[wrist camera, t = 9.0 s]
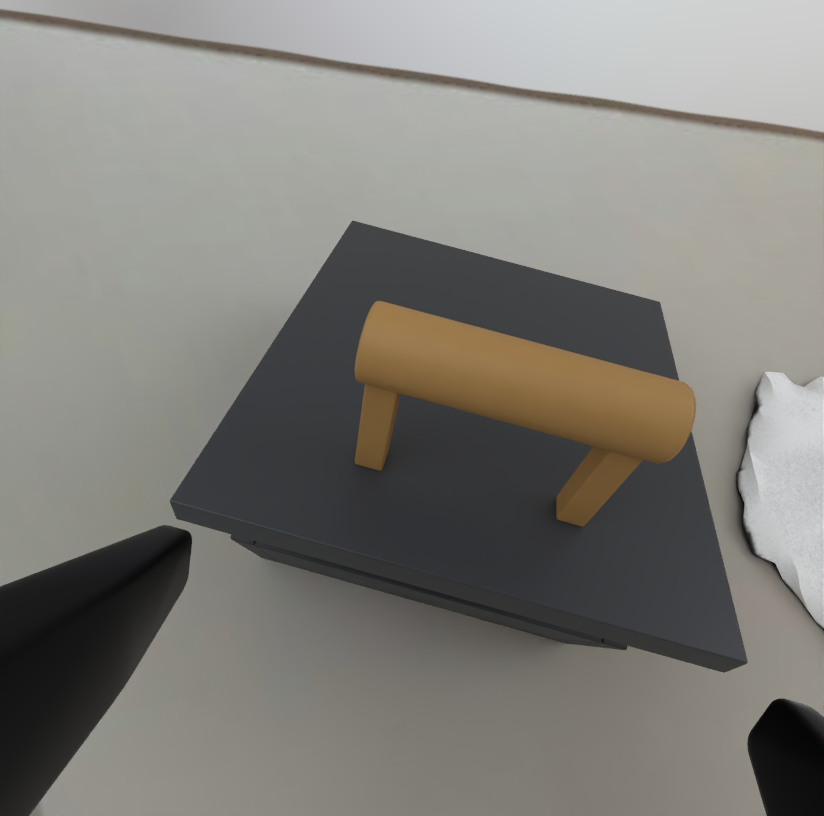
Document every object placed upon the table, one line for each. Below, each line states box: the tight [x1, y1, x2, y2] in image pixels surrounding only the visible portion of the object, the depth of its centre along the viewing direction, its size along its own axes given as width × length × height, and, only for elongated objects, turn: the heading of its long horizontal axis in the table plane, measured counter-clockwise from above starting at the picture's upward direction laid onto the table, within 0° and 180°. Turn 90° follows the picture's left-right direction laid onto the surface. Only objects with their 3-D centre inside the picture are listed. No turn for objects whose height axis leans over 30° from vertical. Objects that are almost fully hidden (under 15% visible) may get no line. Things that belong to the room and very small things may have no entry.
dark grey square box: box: [231, 534, 627, 650], centre depth 20 cm, size 13×13×5 cm
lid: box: [170, 221, 747, 672], centre depth 13 cm, size 13×13×5 cm
